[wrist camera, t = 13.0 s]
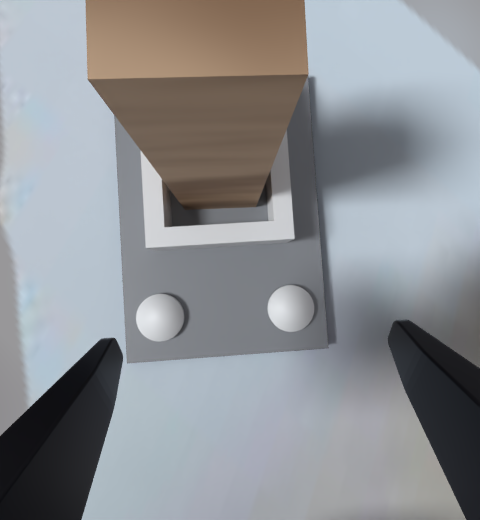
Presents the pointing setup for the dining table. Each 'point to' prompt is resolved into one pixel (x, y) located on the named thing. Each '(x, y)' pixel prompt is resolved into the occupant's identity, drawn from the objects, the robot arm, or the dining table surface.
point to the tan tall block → (201, 88)
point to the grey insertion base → (222, 260)
